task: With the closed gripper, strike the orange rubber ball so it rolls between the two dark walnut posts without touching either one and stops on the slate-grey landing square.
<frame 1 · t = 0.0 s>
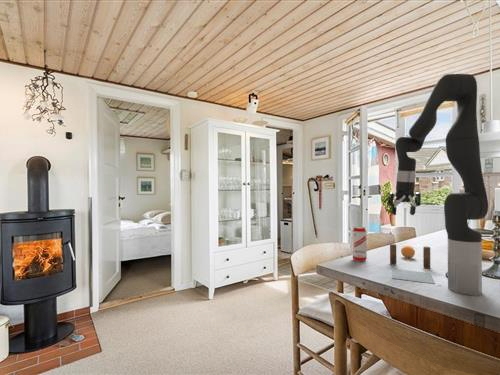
hand: (403, 214, 131), 22 cm above the table, tool pointing down, fingers open, 8 cm apart
right post: (426, 267, 122), on the table
beer can: (359, 260, 134), on the table
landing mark: (411, 276, 110), on the table
ball: (407, 251, 139), on the table
left post: (393, 264, 128), on the table
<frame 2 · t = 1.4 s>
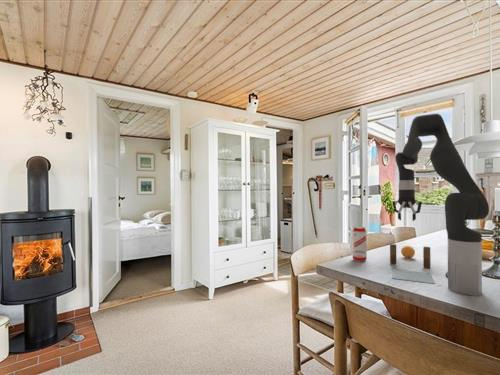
hand: (406, 220, 149), 18 cm above the table, tool pointing down, fingers open, 5 cm apart
nothing on the table moved.
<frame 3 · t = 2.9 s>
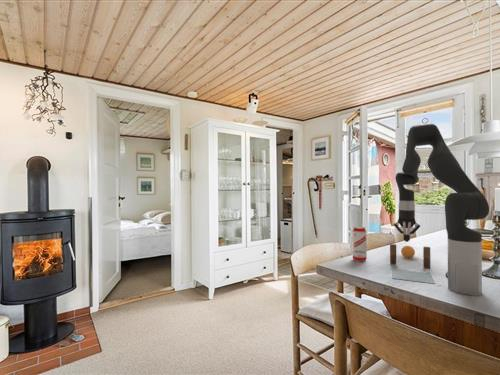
hand: (406, 241, 149), 6 cm above the table, tool pointing down, fingers closed
nothing on the table moved.
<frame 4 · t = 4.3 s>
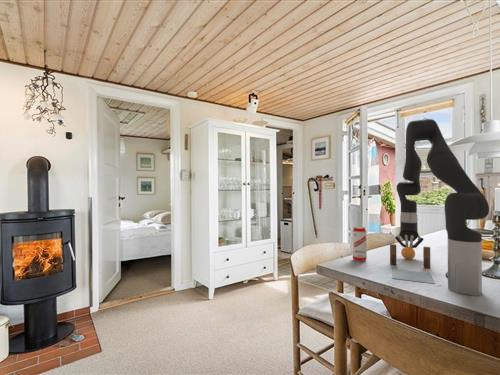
hand: (409, 255, 140), 1 cm above the table, tool pointing down, fingers closed
ball: (408, 253, 136), on the table
everything else where it was.
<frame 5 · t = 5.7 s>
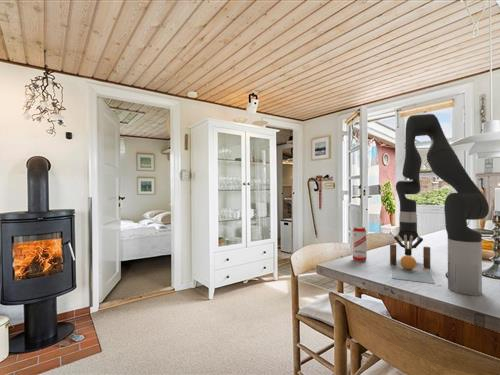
hand: (408, 256, 136), 2 cm above the table, tool pointing down, fingers closed
ball: (408, 262, 119), on the table
everything else where it was.
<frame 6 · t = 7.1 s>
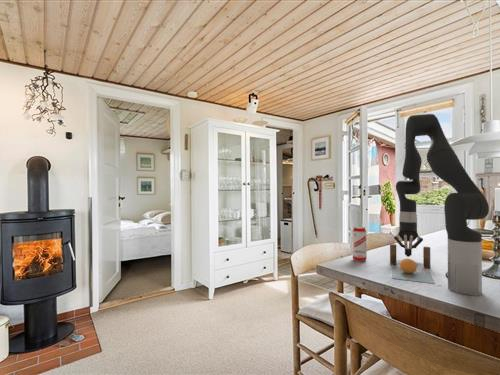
hand: (408, 256, 136), 2 cm above the table, tool pointing down, fingers closed
ball: (408, 266, 114), on the table
everything else where it was.
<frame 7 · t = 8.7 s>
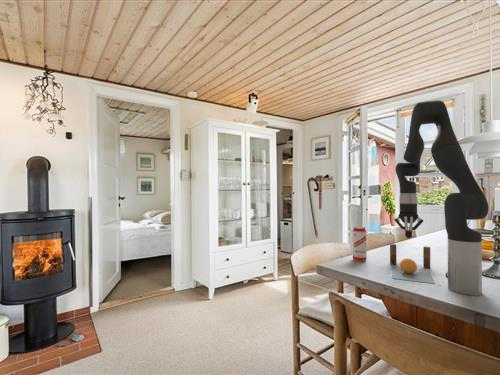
hand: (408, 238, 136), 10 cm above the table, tool pointing down, fingers closed
nothing on the table moved.
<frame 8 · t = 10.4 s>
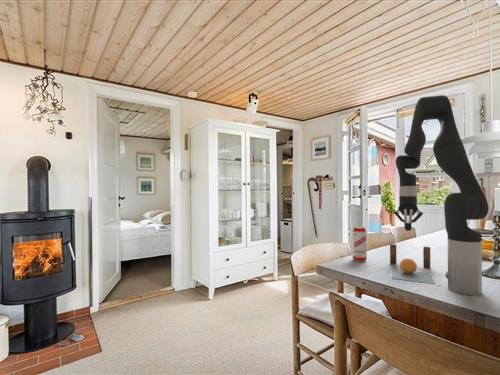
hand: (408, 230, 136), 14 cm above the table, tool pointing down, fingers closed
nothing on the table moved.
at the end: ball 3.3 cm from the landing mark (horizontally); ball never touched left post; ball never touched right post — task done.
